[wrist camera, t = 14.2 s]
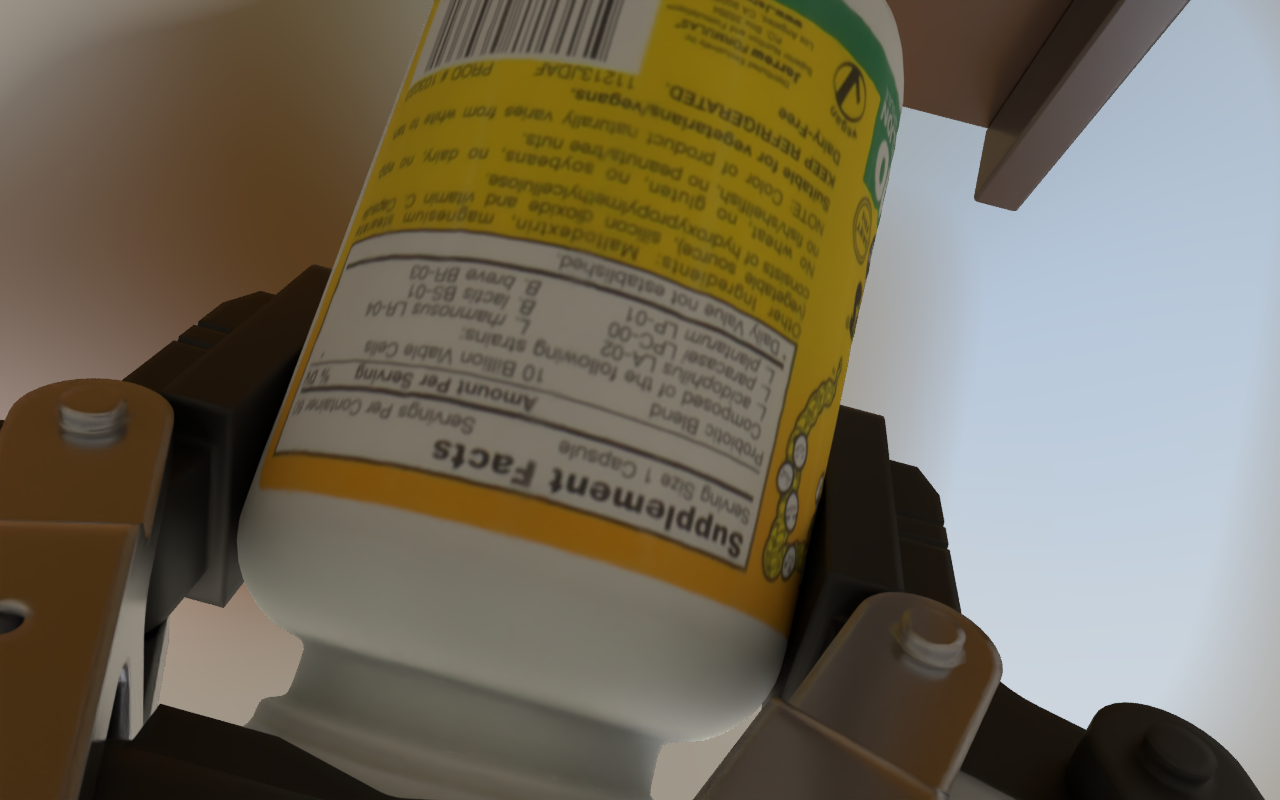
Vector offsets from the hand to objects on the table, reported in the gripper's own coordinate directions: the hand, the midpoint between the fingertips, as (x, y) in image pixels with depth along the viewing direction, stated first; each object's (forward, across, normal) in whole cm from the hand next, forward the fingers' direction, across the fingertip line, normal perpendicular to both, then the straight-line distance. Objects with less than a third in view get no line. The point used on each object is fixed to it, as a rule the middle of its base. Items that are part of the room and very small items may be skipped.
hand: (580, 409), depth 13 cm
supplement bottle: (+2, 0, -4) cm, 5 cm away
